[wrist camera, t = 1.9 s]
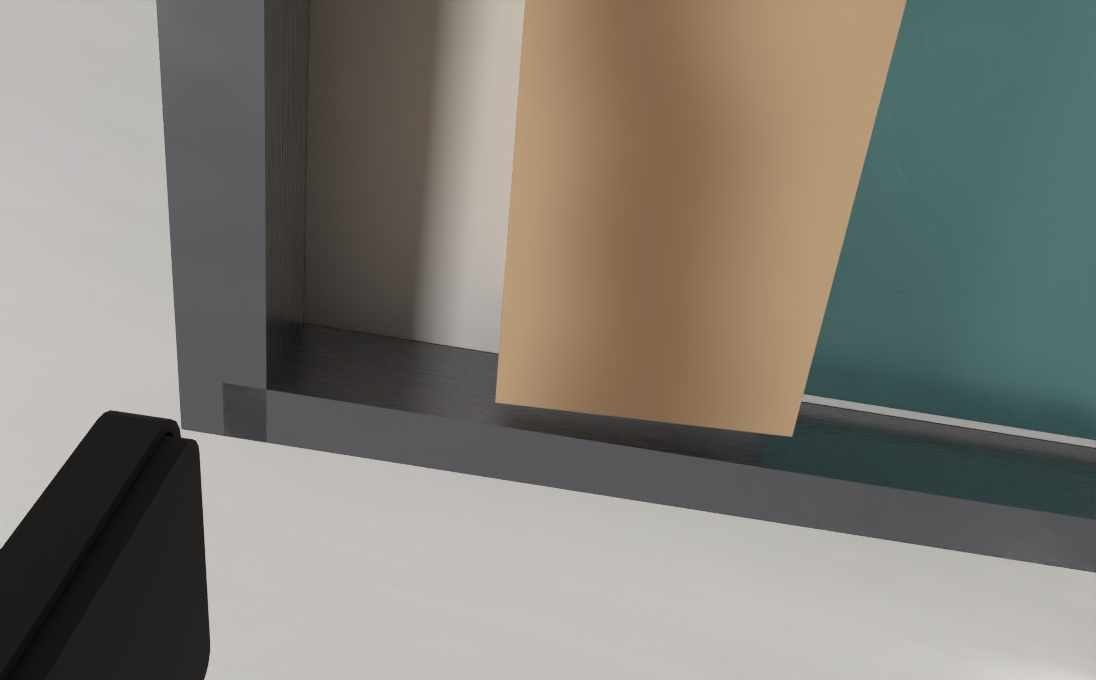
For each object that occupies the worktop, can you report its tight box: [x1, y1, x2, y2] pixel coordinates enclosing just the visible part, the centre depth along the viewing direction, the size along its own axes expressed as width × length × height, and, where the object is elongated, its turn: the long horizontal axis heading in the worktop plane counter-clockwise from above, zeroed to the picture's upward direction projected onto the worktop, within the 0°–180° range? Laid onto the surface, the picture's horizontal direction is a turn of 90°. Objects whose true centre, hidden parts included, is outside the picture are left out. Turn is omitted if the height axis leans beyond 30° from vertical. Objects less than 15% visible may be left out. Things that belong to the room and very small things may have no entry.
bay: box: [156, 0, 1096, 573], centre depth 21 cm, size 23×16×3 cm
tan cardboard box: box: [495, 0, 907, 437], centre depth 20 cm, size 6×9×5 cm, turn 175°
